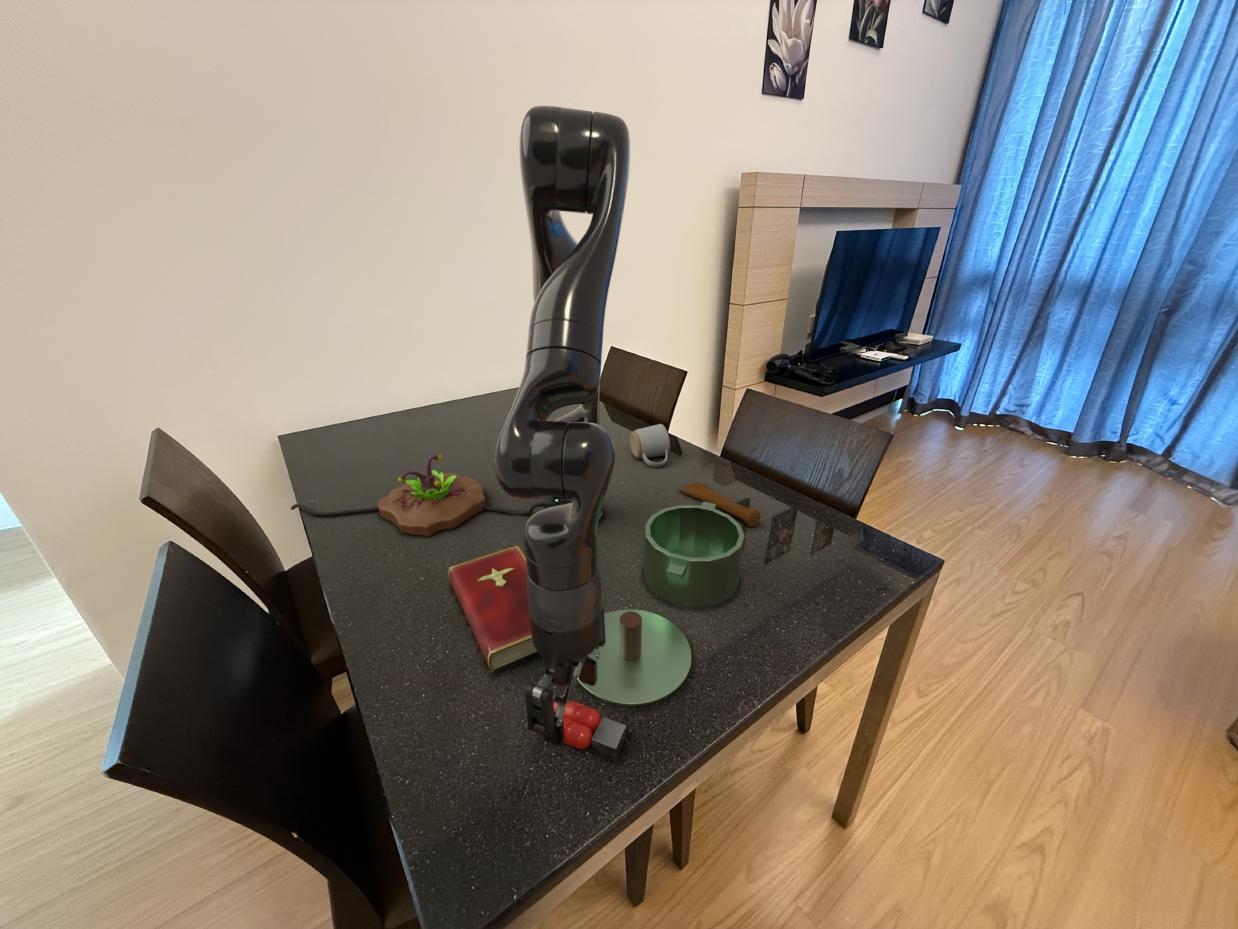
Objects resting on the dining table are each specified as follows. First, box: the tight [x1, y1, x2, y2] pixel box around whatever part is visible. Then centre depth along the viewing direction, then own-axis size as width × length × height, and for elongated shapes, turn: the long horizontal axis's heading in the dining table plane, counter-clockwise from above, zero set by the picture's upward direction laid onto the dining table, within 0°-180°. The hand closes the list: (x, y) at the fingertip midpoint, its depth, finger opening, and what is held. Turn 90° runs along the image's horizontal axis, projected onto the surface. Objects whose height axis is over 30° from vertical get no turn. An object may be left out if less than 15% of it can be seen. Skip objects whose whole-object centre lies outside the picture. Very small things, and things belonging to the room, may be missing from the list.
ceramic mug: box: [629, 423, 671, 468], centre depth 127 cm, size 11×8×8 cm
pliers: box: [553, 700, 627, 759], centre depth 63 cm, size 10×5×3 cm, turn 67°
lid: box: [576, 608, 693, 708], centre depth 72 cm, size 17×17×7 cm
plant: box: [377, 453, 487, 537], centre depth 107 cm, size 20×20×11 cm
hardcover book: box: [447, 545, 538, 674], centre depth 81 cm, size 12×21×4 cm, turn 30°
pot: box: [643, 501, 745, 608], centre depth 87 cm, size 16×21×10 cm
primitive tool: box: [680, 482, 761, 528], centre depth 108 cm, size 19×6×4 cm, turn 38°
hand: (572, 709), depth 62 cm, fingers open, 8 cm apart
